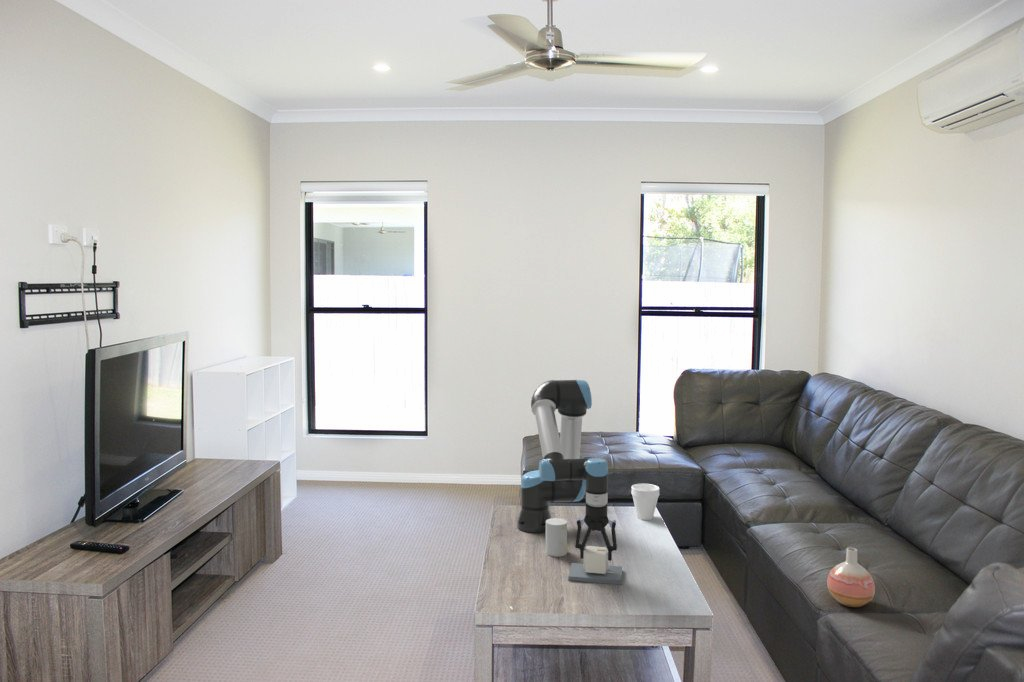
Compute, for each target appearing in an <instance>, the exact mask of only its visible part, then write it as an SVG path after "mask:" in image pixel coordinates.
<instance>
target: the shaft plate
mask: <svg viewBox="0 0 1024 682" xmlns="http://www.w3.org/2000/svg"><path fill="white" fill-rule="evenodd" d="M567 577H568V578H567V579H568V581H569V582H582V583H585V582H586V583H597V584H610V585H622V583H623V581H622V580H623V578H622V577H623V566H620V565H608V571H606V574H600V573H587V572H585V569H583V563H578V562H575V563H574V562H571V564H570V568H569V573H568V576H567Z"/></svg>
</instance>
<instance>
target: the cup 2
mask: <svg viewBox="0 0 1024 682" xmlns="http://www.w3.org/2000/svg"><path fill="white" fill-rule="evenodd" d="M630 494H631V495H632V499H633V500H632V501H633V504H634V509H635V510H634V511H635V514H636V517H637V519H638V518H639V519H638V520H641V519H642V521H651V520H653V519H654V517H655V516H654V514H655V512H656V507H657V503H658V499H659V496H660V487H659V486H658V485H655V484H651V483H635V484H632V485H631V493H630Z"/></svg>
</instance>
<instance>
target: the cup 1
mask: <svg viewBox="0 0 1024 682" xmlns="http://www.w3.org/2000/svg"><path fill="white" fill-rule="evenodd" d="M567 553H568V521H567V519H565V518H560V517H559V518H558V517H552V518H551V519H547V520H546V532H545V554H546V555H548V556H551V557H563V556H566V555H567Z"/></svg>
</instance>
